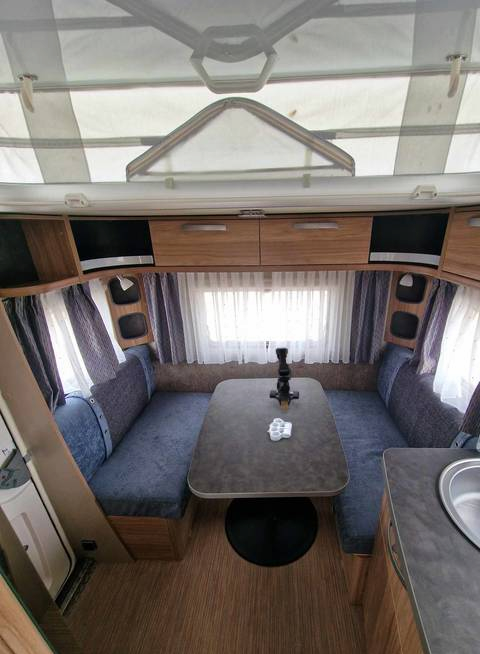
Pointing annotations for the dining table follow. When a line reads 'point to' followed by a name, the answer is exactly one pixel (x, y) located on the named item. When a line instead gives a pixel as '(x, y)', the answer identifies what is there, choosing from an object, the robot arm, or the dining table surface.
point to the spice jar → (284, 405)
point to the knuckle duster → (279, 429)
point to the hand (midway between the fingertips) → (284, 405)
